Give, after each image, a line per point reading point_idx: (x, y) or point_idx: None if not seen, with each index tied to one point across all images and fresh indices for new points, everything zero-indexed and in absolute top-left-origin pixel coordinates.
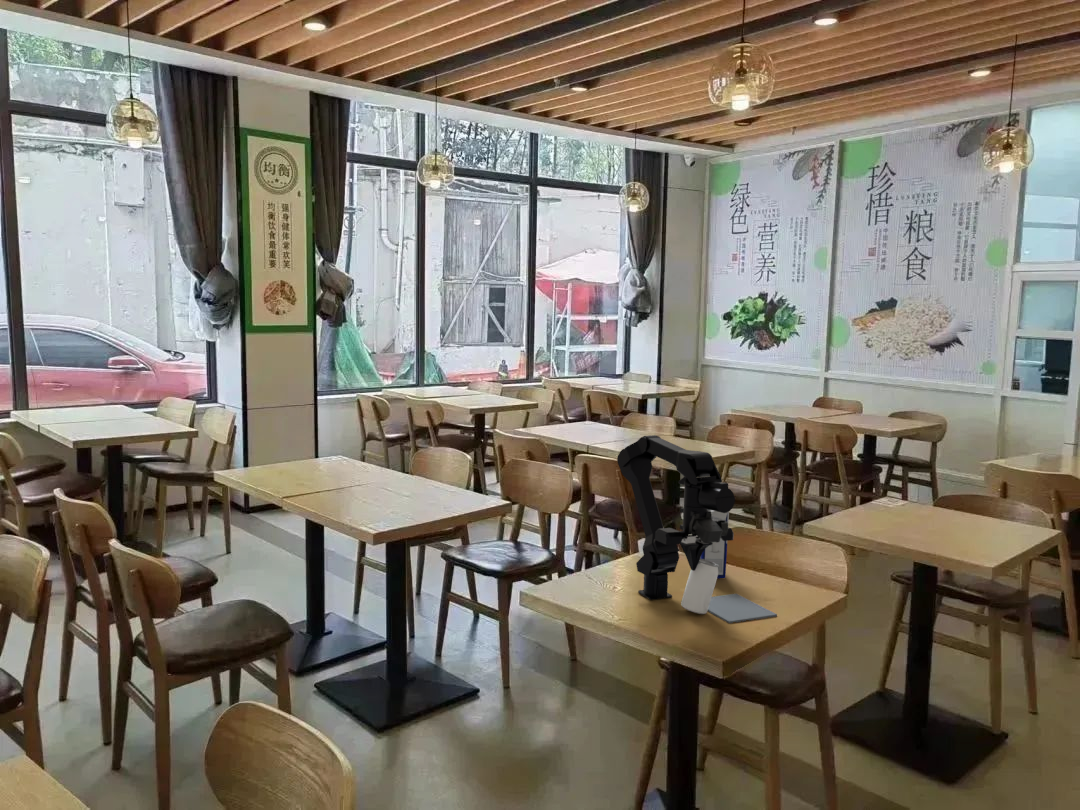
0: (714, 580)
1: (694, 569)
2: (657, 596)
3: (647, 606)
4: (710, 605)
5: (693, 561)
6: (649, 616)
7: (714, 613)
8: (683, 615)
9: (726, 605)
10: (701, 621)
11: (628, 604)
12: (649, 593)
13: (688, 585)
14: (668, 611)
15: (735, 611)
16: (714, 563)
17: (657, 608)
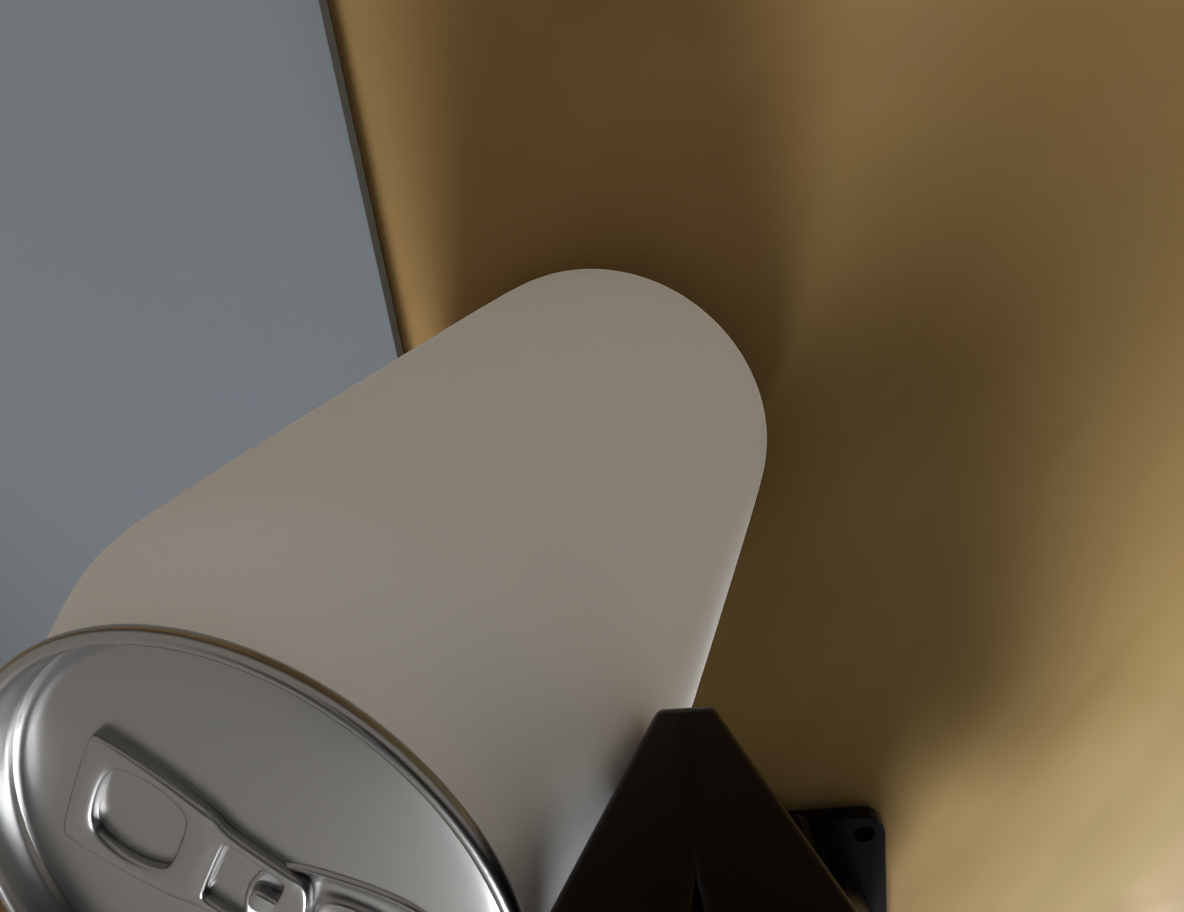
0: (259, 443)
1: (687, 715)
2: (808, 830)
3: (1000, 682)
4: None
5: (785, 874)
6: (1173, 417)
7: (383, 287)
8: (762, 361)
9: (138, 489)
10: (646, 118)
11: (1156, 765)
12: (859, 898)
13: (724, 581)
14: (864, 510)
15: (91, 286)
16: (22, 909)
17: (930, 612)
